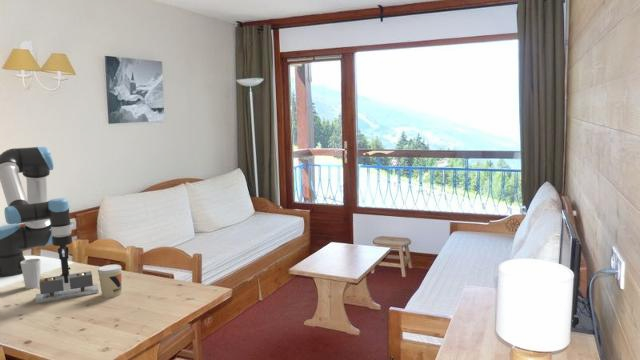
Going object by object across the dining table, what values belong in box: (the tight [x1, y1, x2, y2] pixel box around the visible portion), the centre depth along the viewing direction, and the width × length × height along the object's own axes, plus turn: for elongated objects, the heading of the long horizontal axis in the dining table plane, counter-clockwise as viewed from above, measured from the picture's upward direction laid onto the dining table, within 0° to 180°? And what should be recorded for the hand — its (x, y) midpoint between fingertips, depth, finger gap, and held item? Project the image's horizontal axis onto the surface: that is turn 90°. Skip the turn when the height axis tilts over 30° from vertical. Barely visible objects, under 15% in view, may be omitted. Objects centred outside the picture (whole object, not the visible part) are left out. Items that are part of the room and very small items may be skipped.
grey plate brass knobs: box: [35, 272, 99, 304], centre depth 219 cm, size 24×8×8 cm, turn 117°
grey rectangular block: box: [39, 270, 94, 294], centre depth 219 cm, size 20×6×6 cm, turn 117°
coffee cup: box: [97, 264, 123, 298], centre depth 218 cm, size 9×9×12 cm
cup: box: [20, 258, 42, 290], centre depth 232 cm, size 8×8×12 cm
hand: (67, 287), depth 219 cm, fingers closed on grey rectangular block, 6 cm apart
